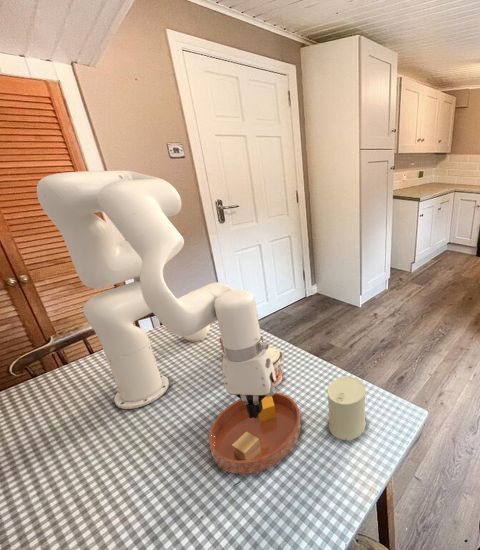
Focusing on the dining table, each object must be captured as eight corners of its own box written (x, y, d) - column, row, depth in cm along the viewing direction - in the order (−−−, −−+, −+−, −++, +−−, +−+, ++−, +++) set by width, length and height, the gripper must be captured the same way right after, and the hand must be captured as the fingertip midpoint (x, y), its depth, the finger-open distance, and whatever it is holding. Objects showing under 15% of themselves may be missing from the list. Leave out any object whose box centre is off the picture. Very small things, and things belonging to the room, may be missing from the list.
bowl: (201, 431, 74) (198, 419, 73) (278, 392, 86) (276, 381, 85) (229, 496, 60) (226, 483, 59) (316, 438, 72) (315, 426, 71)
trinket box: (192, 328, 118) (187, 307, 114) (218, 330, 117) (214, 308, 113) (173, 344, 108) (167, 321, 104) (201, 346, 107) (196, 323, 103)
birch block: (234, 457, 67) (231, 444, 66) (248, 443, 70) (246, 431, 69) (246, 466, 65) (244, 453, 64) (261, 451, 69) (258, 438, 67)
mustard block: (257, 411, 79) (255, 399, 78) (273, 406, 81) (271, 394, 79) (259, 423, 76) (257, 410, 74) (276, 417, 77) (274, 405, 76)
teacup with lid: (268, 396, 85) (264, 362, 81) (244, 386, 89) (238, 353, 84) (295, 370, 95) (292, 339, 91) (272, 362, 99) (268, 332, 94)
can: (322, 434, 73) (319, 396, 69) (339, 407, 81) (337, 371, 77) (356, 447, 70) (356, 407, 66) (371, 417, 78) (371, 380, 74)
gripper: (283, 338, 67) (292, 402, 74) (218, 336, 68) (232, 400, 75) (271, 359, 60) (281, 428, 67) (199, 357, 61) (216, 425, 68)
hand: (255, 413), depth 71 cm, fingers closed
